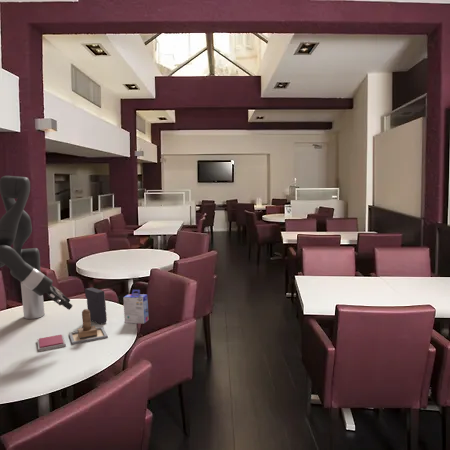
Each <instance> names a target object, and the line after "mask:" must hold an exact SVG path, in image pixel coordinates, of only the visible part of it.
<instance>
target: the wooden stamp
mask: <svg viewBox="0 0 450 450" xmlns="http://www.w3.org/2000/svg"><path fill="white" fill-rule="evenodd" d="M81 318H82V319H81V320H82V327H81V328H77V331H78V336H79V339H80V340H81V339H86V338H91V337H96V336H97V329H96V328H97V327H96V326H95V325H92V321H91V319H90V311H89V310H88V308H84V309H83V310H82V312H81Z"/></svg>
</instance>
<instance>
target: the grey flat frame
mask: <svg viewBox="0 0 450 450" xmlns="http://www.w3.org/2000/svg"><path fill="white" fill-rule="evenodd" d="M96 329H97V336H96V337H91V338H86V339H81V340H80V339H79V336H78V330H77V331H73V332H69V333H68V336H69V338H70V342H71V345H76V344H82V342H83V343H86V342H87V343H88V342H93V341H97V340H102V339H108V334H107V331H106V330H105V329H104V327H103V326H100V327H96Z"/></svg>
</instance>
